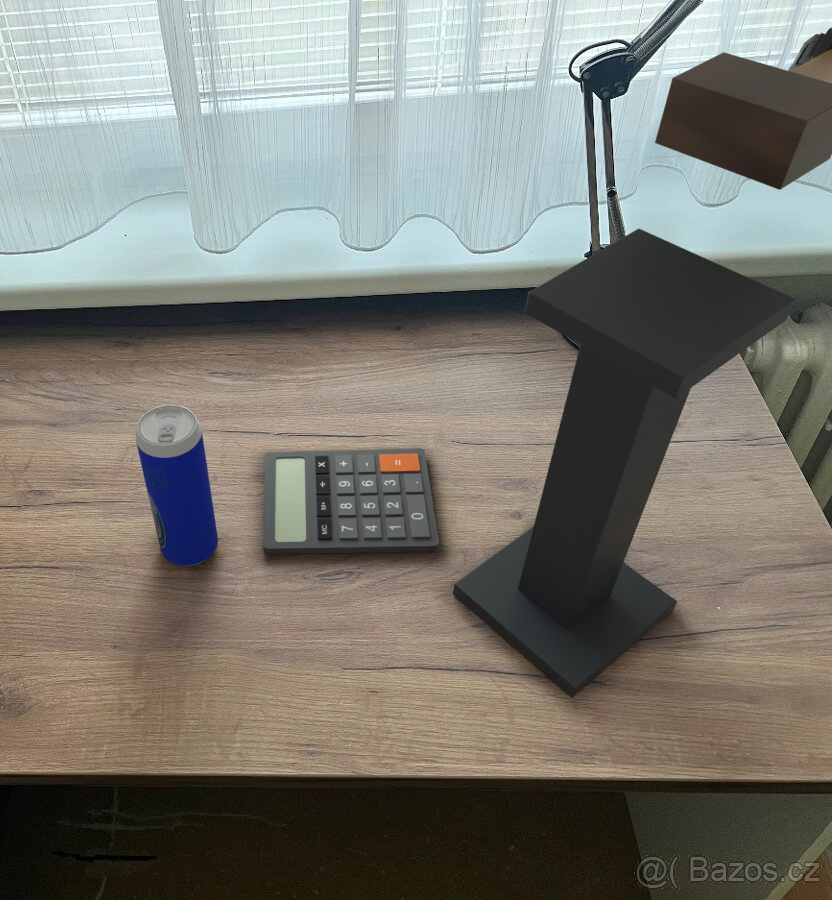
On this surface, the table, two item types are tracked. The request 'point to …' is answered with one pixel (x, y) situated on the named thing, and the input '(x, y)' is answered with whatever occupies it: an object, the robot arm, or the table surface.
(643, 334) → the stand
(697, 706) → the table surface
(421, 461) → the calculator
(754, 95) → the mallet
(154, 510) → the beverage can
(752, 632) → the table surface
